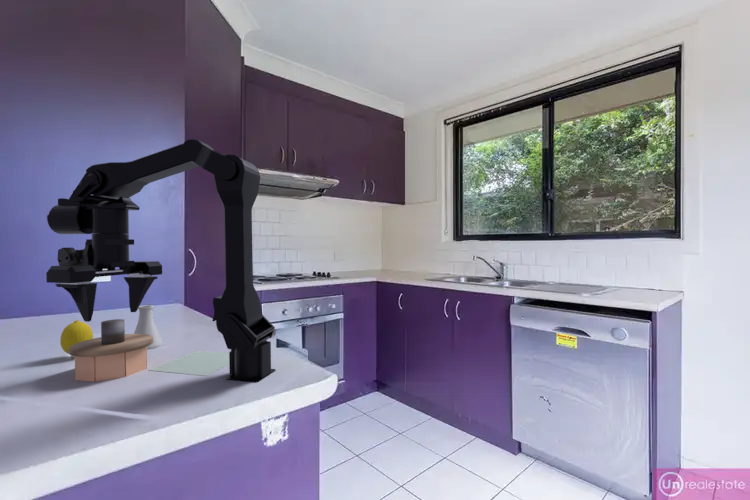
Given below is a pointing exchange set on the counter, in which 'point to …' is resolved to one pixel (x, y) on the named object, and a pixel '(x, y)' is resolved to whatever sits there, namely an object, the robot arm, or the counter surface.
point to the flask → (148, 326)
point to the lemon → (75, 334)
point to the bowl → (110, 365)
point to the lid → (111, 341)
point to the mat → (196, 363)
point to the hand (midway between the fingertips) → (111, 316)
